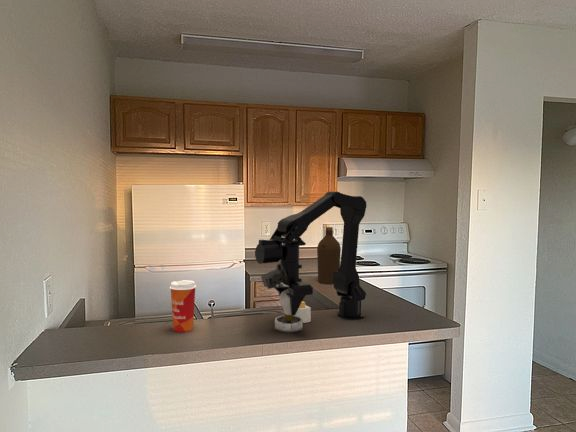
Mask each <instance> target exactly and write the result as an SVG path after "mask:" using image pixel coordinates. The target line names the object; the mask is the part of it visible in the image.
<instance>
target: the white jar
mask: <svg viewBox="0 0 576 432" xmlns="http://www.w3.org/2000/svg"><path fill="white" fill-rule="evenodd" d="M311 311H312V307H310V306H308V305H306V304H305V308H298V310H297V312H296V314H295V315H293V316H298V317H300V318H302V319H303V324H305V323H311V321H312V320H311V315H312V314H311V313H312V312H311Z"/></svg>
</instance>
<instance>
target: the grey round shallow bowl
mask: <svg viewBox="0 0 576 432" xmlns="http://www.w3.org/2000/svg"><path fill="white" fill-rule="evenodd" d="M303 324H304V323H303V319H302V318H300V317H298V316H293V321H291V322H290V323H288V322H287V321H286V320H285V315H279V316H277V317H275V318H274V329H275V330H276V331H278V332H281V333H287V334H289V333H291V334H292V333H297V332H300V331H302V330H303V329H304V328H303V326H304V325H303Z"/></svg>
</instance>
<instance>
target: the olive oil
mask: <svg viewBox="0 0 576 432" xmlns="http://www.w3.org/2000/svg"><path fill="white" fill-rule="evenodd" d="M333 229H334V227H332V226H326V227H325V230H324V231H325V235H324V237H322V239H321V240H320V241H318V245H317V249H316V252H317V253H316V254H317V257H316V258H317V282H318V283H319V284H323V285H333V283H332V281H333V272H334V271H338V269H339V268H340V265H341V253H342V246H341V244H340V242H339V241H338V240H337V239H336V238H335V236H334V230H333Z"/></svg>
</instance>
